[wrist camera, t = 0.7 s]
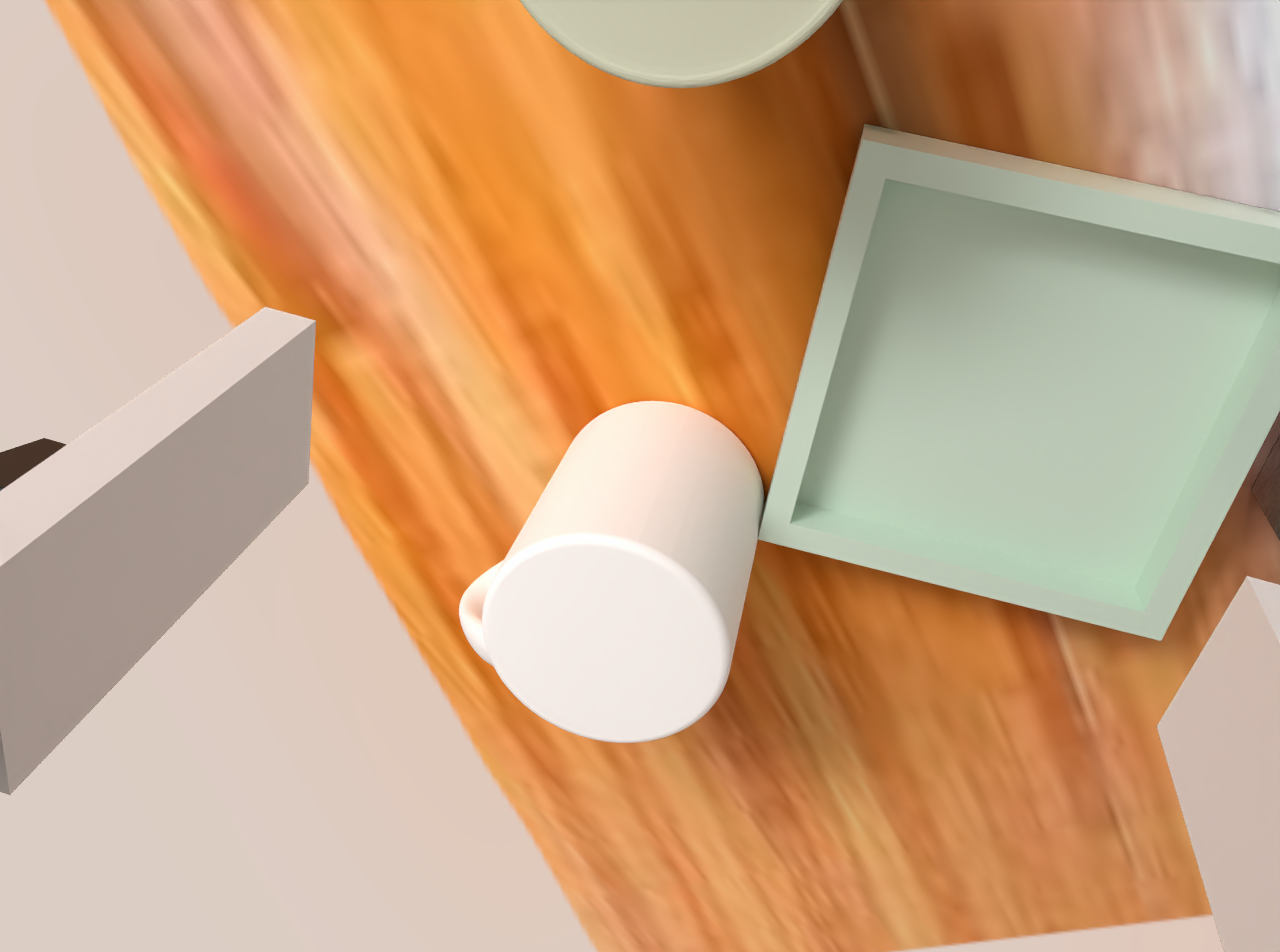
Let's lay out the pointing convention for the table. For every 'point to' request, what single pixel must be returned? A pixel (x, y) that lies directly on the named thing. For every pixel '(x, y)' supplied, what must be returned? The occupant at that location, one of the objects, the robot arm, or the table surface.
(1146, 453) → the tray
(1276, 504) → the unit
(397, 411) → the table surface
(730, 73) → the can
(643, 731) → the mug
